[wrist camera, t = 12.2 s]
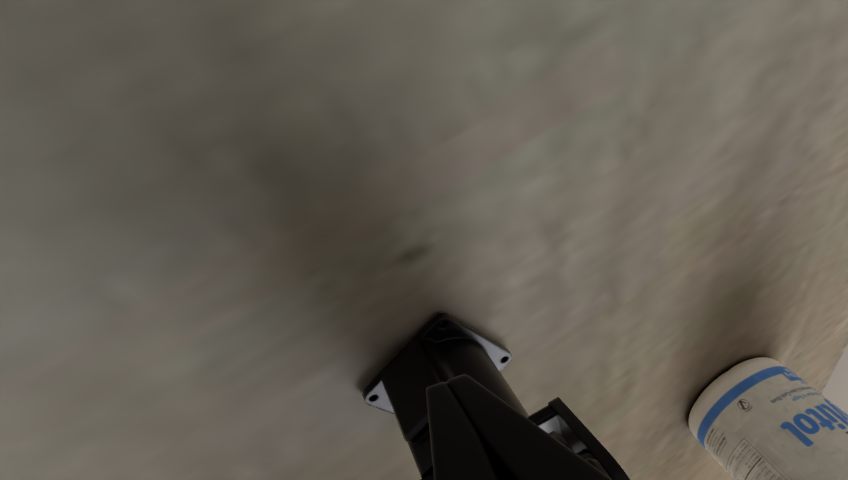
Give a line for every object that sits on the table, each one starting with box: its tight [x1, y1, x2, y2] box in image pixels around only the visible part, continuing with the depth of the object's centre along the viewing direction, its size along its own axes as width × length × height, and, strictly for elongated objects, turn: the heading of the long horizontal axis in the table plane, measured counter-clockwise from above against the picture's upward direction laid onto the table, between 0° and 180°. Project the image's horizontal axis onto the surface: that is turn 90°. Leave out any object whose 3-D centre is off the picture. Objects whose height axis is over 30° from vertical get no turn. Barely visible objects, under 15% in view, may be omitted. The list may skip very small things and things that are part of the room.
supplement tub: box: [689, 357, 848, 480], centre depth 37 cm, size 10×10×15 cm
